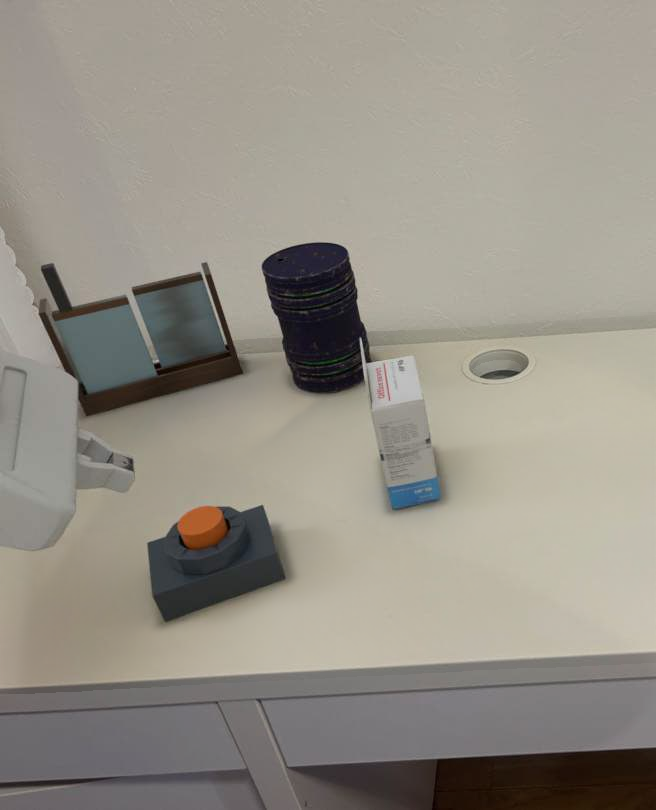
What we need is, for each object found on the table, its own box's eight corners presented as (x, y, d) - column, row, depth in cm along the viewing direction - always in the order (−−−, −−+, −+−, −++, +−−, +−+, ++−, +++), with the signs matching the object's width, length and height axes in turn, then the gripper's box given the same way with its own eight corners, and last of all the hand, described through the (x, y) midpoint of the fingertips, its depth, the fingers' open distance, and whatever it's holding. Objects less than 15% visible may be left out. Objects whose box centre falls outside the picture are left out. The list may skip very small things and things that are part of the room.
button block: (165, 622, 66) (144, 580, 63) (159, 568, 71) (139, 527, 68) (286, 578, 69) (271, 536, 66) (271, 530, 75) (257, 489, 72)
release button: (186, 555, 66) (179, 540, 65) (181, 529, 68) (175, 514, 67) (230, 540, 67) (224, 525, 66) (225, 515, 70) (219, 500, 69)
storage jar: (382, 350, 101) (359, 240, 93) (362, 393, 93) (335, 276, 85) (306, 352, 102) (277, 243, 94) (280, 394, 94) (246, 279, 86)
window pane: (89, 399, 93) (30, 271, 84) (89, 394, 94) (31, 267, 85) (159, 381, 95) (109, 254, 86) (158, 376, 96) (109, 250, 87)
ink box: (443, 500, 76) (420, 370, 68) (391, 511, 76) (362, 381, 67) (431, 449, 83) (409, 325, 75) (383, 459, 83) (356, 335, 74)
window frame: (86, 416, 93) (37, 313, 86) (86, 399, 96) (39, 299, 89) (243, 373, 99) (211, 273, 91) (238, 359, 102) (207, 261, 94)
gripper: (-75, 376, 62) (108, 438, 70) (-130, 535, 46) (114, 590, 55) (-37, 310, 61) (144, 381, 69) (-80, 450, 45) (160, 520, 54)
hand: (131, 475), depth 62 cm, fingers closed
